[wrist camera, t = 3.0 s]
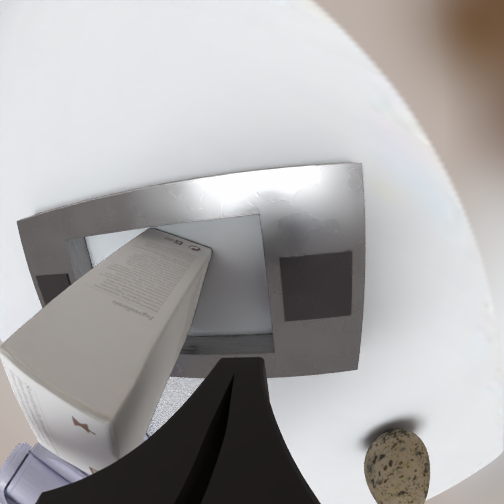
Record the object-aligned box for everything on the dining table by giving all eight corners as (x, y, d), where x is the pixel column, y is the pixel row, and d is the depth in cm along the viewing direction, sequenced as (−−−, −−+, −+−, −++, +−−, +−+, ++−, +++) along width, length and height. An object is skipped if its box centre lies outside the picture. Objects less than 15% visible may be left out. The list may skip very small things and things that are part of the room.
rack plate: (351, 350, 18) (357, 370, 16) (79, 349, 20) (66, 363, 18) (351, 162, 14) (362, 163, 12) (34, 214, 17) (15, 221, 15)
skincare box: (148, 224, 16) (-17, 335, 5) (218, 248, 16) (112, 422, 5) (135, 309, 18) (30, 440, 7) (195, 332, 18) (123, 494, 7)
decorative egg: (352, 452, 22) (362, 534, 12) (369, 419, 20) (389, 516, 10) (403, 445, 21) (422, 519, 12) (425, 411, 19) (456, 495, 10)
